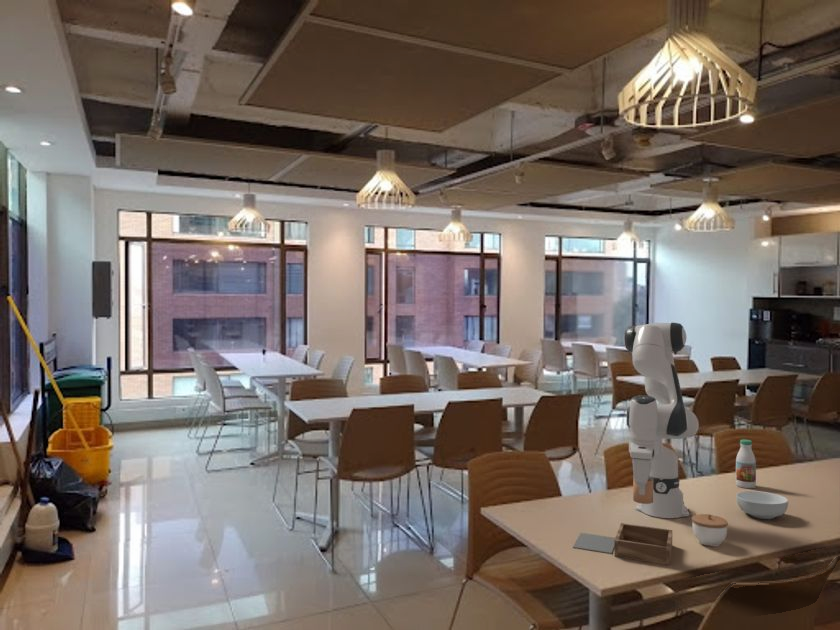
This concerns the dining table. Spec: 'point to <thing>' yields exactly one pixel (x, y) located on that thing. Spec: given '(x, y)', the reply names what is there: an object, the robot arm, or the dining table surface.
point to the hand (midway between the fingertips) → (643, 490)
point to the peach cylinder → (648, 492)
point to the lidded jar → (709, 529)
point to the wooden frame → (641, 549)
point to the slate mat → (595, 543)
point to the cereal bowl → (762, 504)
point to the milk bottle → (745, 465)
